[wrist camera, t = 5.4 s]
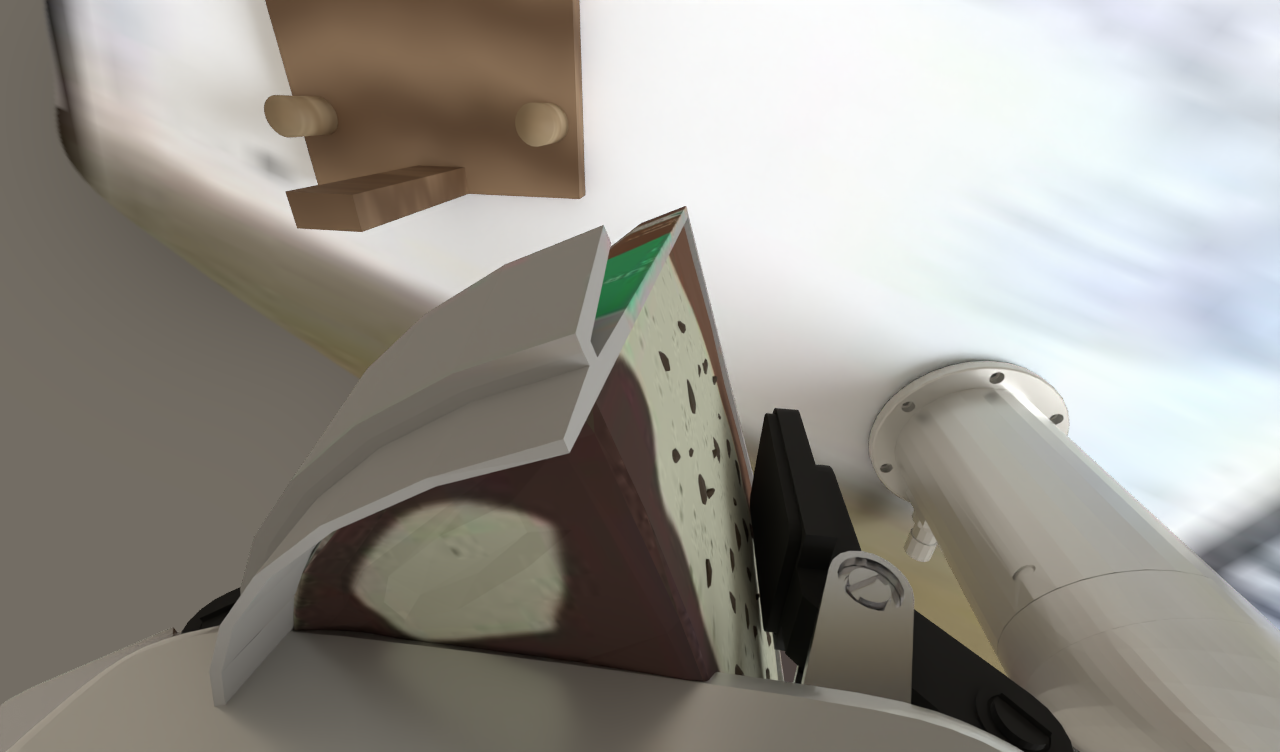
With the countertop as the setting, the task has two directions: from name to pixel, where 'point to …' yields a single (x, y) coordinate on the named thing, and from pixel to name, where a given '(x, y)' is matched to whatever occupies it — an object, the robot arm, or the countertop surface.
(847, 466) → the countertop surface
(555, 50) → the peg stand
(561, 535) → the food container
